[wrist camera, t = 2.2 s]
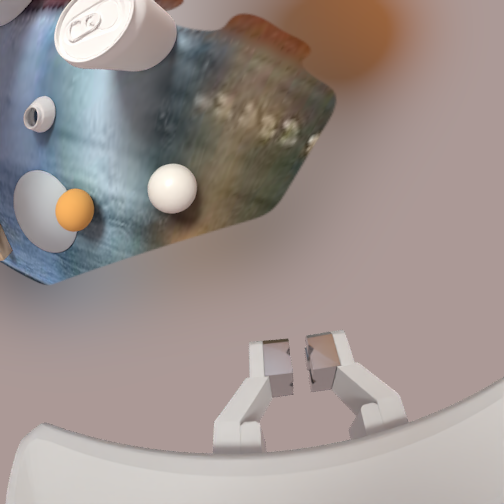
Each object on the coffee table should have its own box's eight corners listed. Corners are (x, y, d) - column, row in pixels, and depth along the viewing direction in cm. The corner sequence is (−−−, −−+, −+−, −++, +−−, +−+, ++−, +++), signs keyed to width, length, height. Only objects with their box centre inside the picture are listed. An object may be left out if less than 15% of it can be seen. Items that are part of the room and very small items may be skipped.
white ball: (151, 163, 30) (134, 178, 25) (195, 154, 29) (186, 167, 25) (161, 204, 33) (148, 225, 28) (204, 197, 32) (197, 218, 28)
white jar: (32, 99, 23) (32, 132, 25) (18, 102, 20) (19, 138, 23) (57, 93, 23) (57, 129, 26) (44, 95, 21) (44, 134, 23)
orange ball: (64, 187, 30) (42, 204, 26) (93, 178, 30) (72, 194, 25) (76, 222, 33) (57, 242, 29) (106, 215, 33) (88, 236, 28)
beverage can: (182, 60, 23) (145, 44, 13) (116, 80, 24) (54, 84, 13) (174, 1, 19) (137, -38, 9) (108, 24, 19) (48, 6, 9)
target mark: (4, 183, 28) (4, 184, 28) (59, 158, 28) (58, 158, 28) (34, 256, 36) (34, 257, 36) (90, 246, 35) (90, 247, 35)
